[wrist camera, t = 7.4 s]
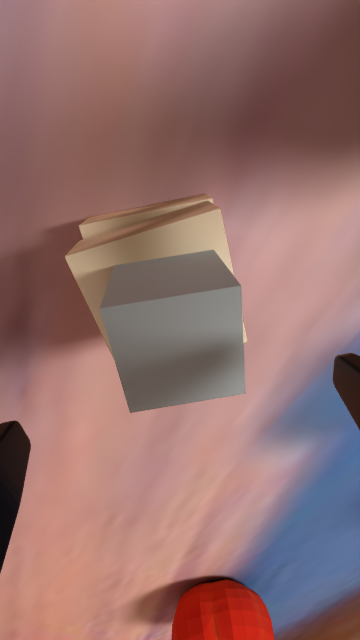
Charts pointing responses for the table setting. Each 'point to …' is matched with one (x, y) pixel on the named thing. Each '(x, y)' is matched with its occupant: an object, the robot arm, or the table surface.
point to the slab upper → (145, 249)
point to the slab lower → (135, 215)
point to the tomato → (221, 613)
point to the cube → (175, 330)
